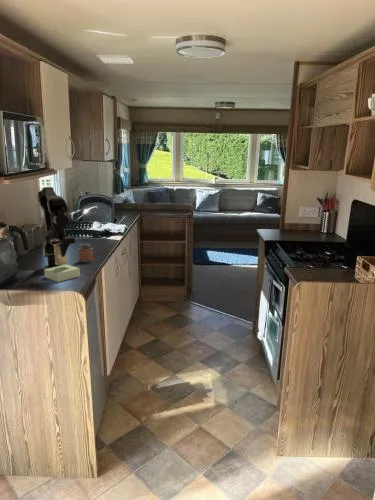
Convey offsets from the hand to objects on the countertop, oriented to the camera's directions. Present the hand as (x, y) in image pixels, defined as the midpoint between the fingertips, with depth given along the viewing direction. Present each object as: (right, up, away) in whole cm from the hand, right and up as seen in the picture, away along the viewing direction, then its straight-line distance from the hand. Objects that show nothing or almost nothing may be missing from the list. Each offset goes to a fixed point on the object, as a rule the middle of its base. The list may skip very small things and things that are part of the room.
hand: (60, 256), depth 185 cm
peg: (0, -4, +1) cm, 4 cm away
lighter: (+4, -4, +32) cm, 32 cm away
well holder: (0, -10, +2) cm, 10 cm away
